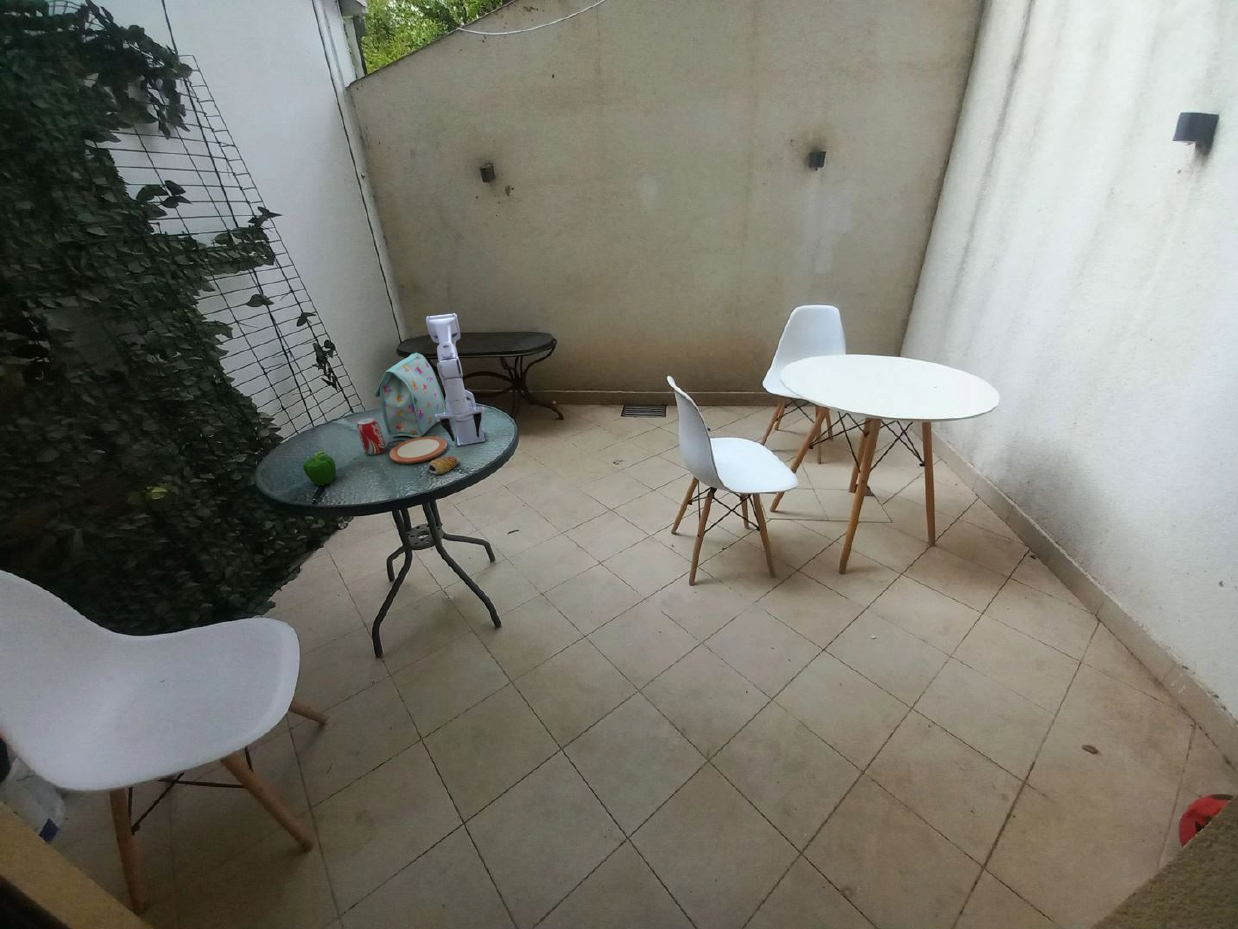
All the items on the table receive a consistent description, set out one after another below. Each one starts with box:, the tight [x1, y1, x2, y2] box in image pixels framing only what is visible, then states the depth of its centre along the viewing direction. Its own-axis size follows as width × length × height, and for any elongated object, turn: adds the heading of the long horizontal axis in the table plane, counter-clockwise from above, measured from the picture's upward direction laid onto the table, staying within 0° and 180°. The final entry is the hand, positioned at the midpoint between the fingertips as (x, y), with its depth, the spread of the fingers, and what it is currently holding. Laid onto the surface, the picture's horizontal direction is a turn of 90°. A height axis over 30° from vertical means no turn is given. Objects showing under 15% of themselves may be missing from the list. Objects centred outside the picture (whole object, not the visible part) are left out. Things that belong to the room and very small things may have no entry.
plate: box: [389, 436, 448, 465], centre depth 167 cm, size 19×19×2 cm
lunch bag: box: [374, 352, 447, 439], centre depth 181 cm, size 23×16×27 cm
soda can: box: [356, 416, 387, 456], centre depth 167 cm, size 7×7×12 cm
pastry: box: [426, 456, 459, 475], centre depth 155 cm, size 9×7×4 cm
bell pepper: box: [302, 450, 337, 486], centre depth 150 cm, size 8×8×10 cm
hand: (465, 437), depth 153 cm, fingers open, 7 cm apart
